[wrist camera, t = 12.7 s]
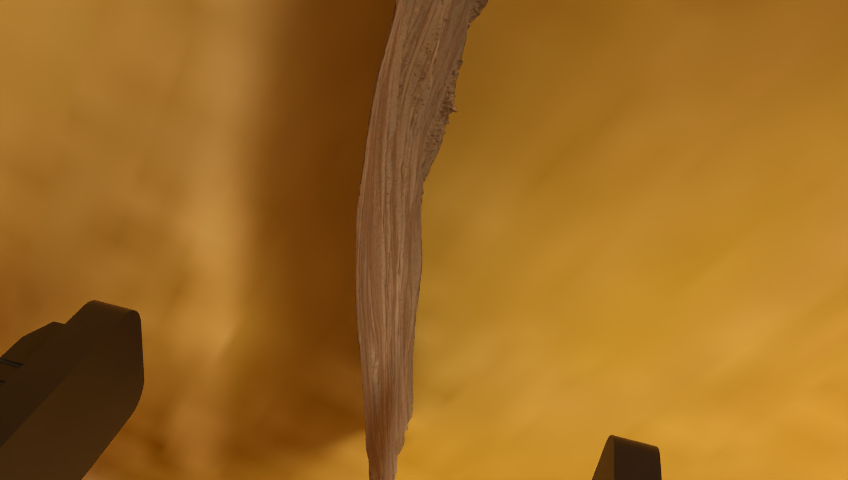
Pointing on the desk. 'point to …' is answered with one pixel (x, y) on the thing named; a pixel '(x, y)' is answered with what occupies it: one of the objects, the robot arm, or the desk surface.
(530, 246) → the desk surface
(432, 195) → the desk surface
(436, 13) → the wood plank
